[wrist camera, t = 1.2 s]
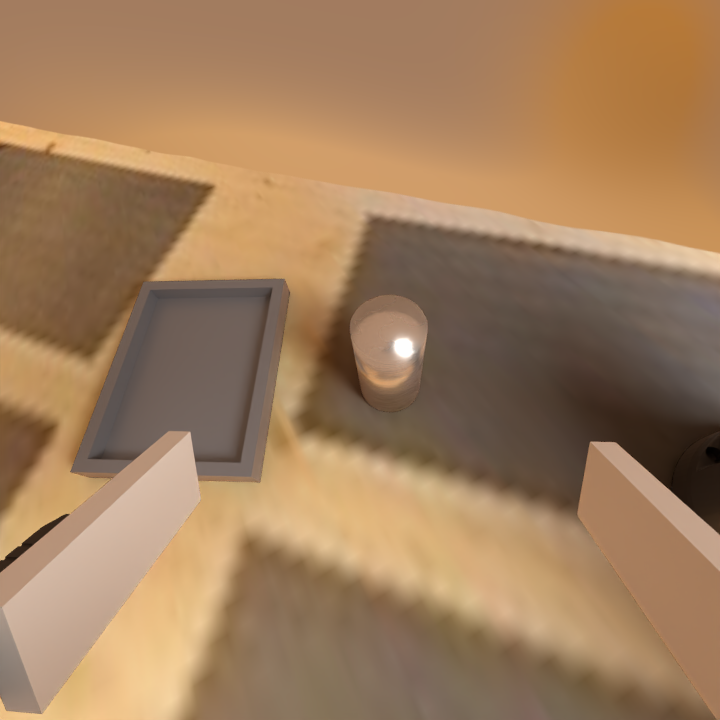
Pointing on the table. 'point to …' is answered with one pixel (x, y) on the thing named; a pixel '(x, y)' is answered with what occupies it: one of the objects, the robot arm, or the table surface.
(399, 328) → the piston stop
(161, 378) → the slate tray
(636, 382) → the table surface
